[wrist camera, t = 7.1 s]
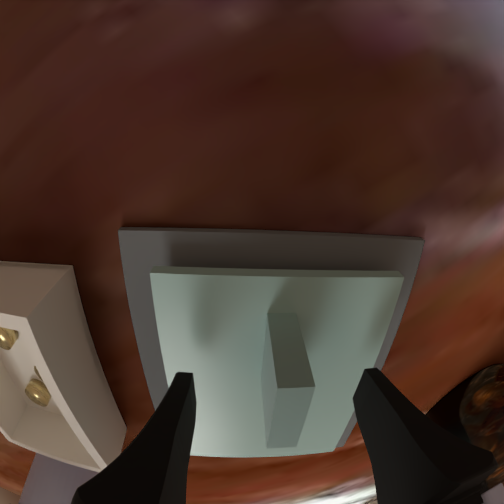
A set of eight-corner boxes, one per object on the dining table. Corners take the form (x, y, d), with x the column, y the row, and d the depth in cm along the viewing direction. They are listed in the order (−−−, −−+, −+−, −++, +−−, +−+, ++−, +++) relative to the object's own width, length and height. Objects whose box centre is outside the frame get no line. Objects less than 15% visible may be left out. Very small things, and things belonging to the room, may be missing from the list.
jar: (415, 403, 19) (478, 557, 6) (519, 343, 18) (599, 455, 5) (408, 455, 24) (445, 563, 11) (493, 409, 23) (542, 500, 9)
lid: (329, 434, 19) (344, 497, 14) (186, 436, 19) (180, 503, 14) (389, 260, 13) (452, 334, 8) (158, 255, 13) (116, 340, 8)
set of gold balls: (83, 406, 17) (79, 416, 16) (31, 392, 17) (26, 401, 16) (47, 323, 14) (39, 334, 13) (-8, 313, 14) (-16, 322, 13)
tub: (127, 428, 19) (115, 476, 15) (27, 403, 18) (8, 441, 14) (72, 265, 13) (26, 318, 9) (-40, 258, 13) (-81, 292, 9)
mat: (342, 442, 21) (342, 446, 20) (168, 445, 20) (168, 449, 20) (421, 237, 13) (425, 240, 13) (120, 227, 13) (117, 230, 12)
